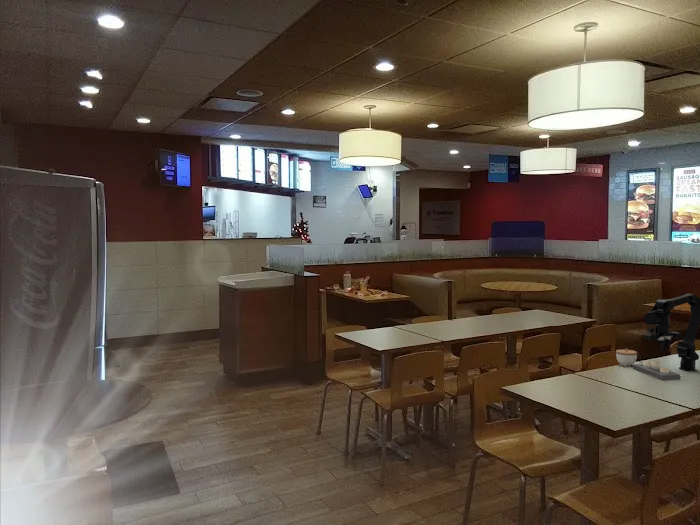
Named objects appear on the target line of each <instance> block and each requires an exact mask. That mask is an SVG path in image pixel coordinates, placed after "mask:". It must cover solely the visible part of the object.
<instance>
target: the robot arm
mask: <svg viewBox="0 0 700 525" xmlns="http://www.w3.org/2000/svg"><path fill="white" fill-rule="evenodd" d="M684 304H685V305H686V304H687V305H688V306H690V308H689V310H690V314H691V315H690V319H689V322H688V325H687V328H686V331H685V334H684V337H683V334H682V332H678V331H670V329H671V328H672V325H670V315H671V316H672V315H674V314H673V312H672V310H674V309H675V307H678V306H681V305H682V306H683V305H684ZM643 322H644V323H645V324H646V325H647V328H646V331H647V333H645V334H644V340H648V341H656V342H657V343H658V345H659V348H660V350H661V352H662V353H665V352H666V350H667V348H668V347H669V345H670V344H671V342H673V341H674V339H672V338H676V339H677V340H678V342H677V345H676V346H675V347H676V352H677V353H676V354H677V356H678V358H680V364H679V365H680V367H678V369H680V370H683V371H686V372H694V371H695V372H697V371H698V369H696V361H698V360H699V358H700V355H698V353H697V352H696V349H697V348H696V343H695V340H696V338H697V334H698V331H699V327H700V297H699V296H697V295H695V294H694V293H685V294H683V295H680V296H676V297H672V298H668V299H666V298H665V299H664V298H663V299H657V300H656V301H655V304H654V305H653V307H652V309H651V310H650V311H647V312H646V314H645V315H644V317H643ZM651 325H654V327H653V326H651ZM681 339H682V340H681Z"/></svg>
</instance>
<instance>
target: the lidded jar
mask: <svg viewBox="0 0 700 525" xmlns="http://www.w3.org/2000/svg"><path fill="white" fill-rule="evenodd" d="M615 353H616V354H615V356H616V360H617V362H618V363H619V365H621V366H624V367H625V365H626V367H630V366H629V365H632V366H633V364H636V362H637V356H638V351H636V350H632V349H628V348H627V347H625V349H616V351H615Z"/></svg>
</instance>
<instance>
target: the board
mask: <svg viewBox="0 0 700 525" xmlns="http://www.w3.org/2000/svg"><path fill="white" fill-rule="evenodd" d="M660 368H662V367H661V366H660ZM632 369H633V370H635V371H638V372H641V373H643V374H646V375H648V376H651V377H653V378H656V379H658V380H660V381H671V380H672V381H673V380H681V377H680V375H681V374H680V373H677V372H674V371H672V370H669V374H663V373H660V370H652V369H651V367H644V366H643V363H634V364H633V365H632Z"/></svg>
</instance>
